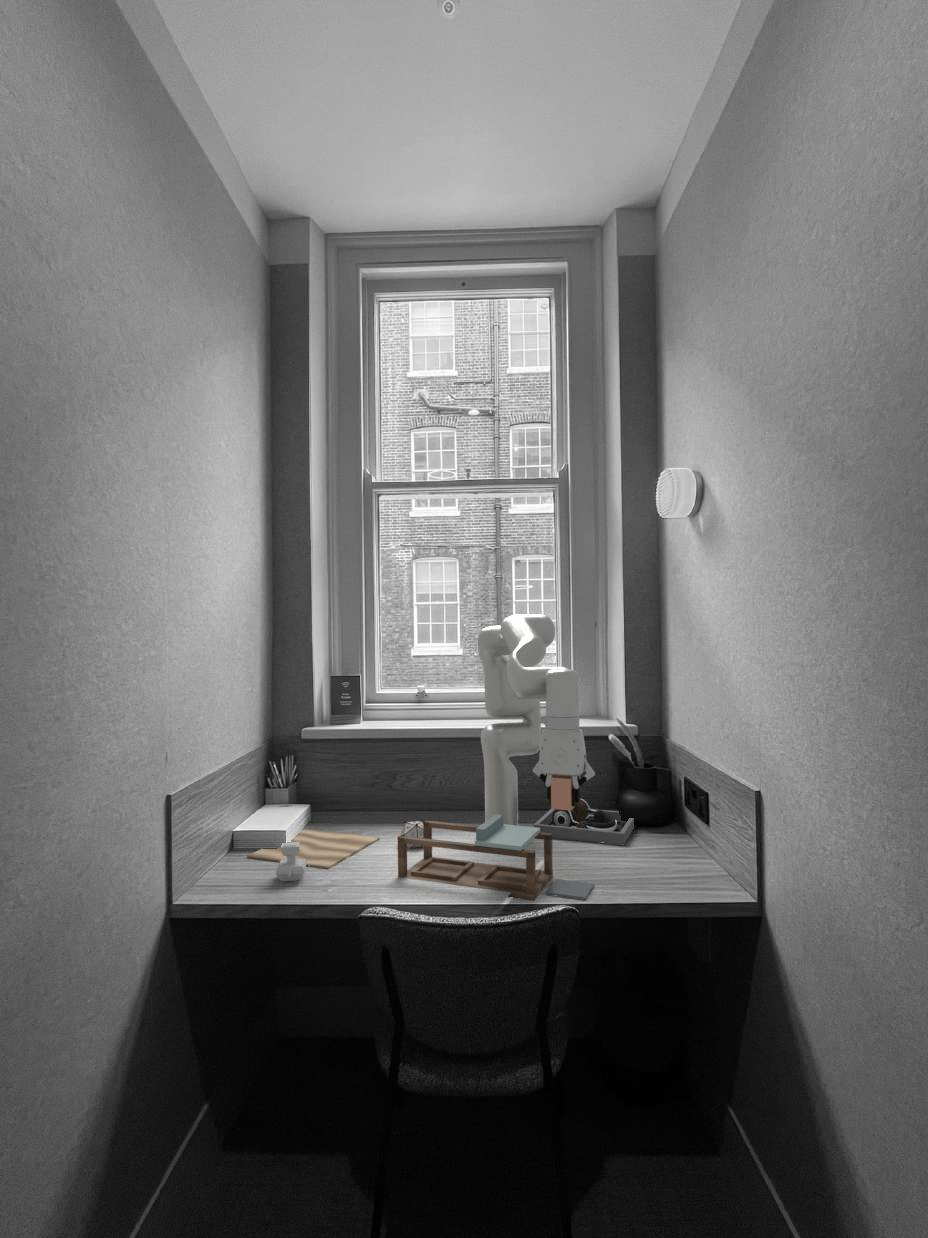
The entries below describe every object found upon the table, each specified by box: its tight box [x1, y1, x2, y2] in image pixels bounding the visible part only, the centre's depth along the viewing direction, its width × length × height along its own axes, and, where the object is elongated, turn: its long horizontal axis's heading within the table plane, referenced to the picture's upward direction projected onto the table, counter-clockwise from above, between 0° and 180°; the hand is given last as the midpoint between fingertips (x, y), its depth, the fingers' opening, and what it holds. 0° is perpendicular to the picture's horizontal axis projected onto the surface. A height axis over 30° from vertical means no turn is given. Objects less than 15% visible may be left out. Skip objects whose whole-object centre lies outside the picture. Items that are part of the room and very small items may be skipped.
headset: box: [552, 797, 626, 831], centre depth 211 cm, size 17×8×20 cm
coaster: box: [544, 878, 595, 901], centre depth 163 cm, size 9×9×1 cm
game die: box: [397, 817, 424, 849], centre depth 194 cm, size 9×8×10 cm
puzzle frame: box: [397, 820, 554, 902], centre depth 171 cm, size 16×33×10 cm, turn 68°
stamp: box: [275, 842, 307, 882], centre depth 173 cm, size 9×7×8 cm
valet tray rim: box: [533, 808, 635, 846], centre depth 210 cm, size 22×25×3 cm
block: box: [550, 775, 574, 811], centre depth 164 cm, size 4×4×7 cm
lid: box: [474, 814, 540, 851], centre depth 168 cm, size 15×11×4 cm
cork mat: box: [246, 828, 381, 869], centre depth 196 cm, size 26×25×1 cm
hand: (563, 803), depth 164 cm, fingers closed on block, 4 cm apart
